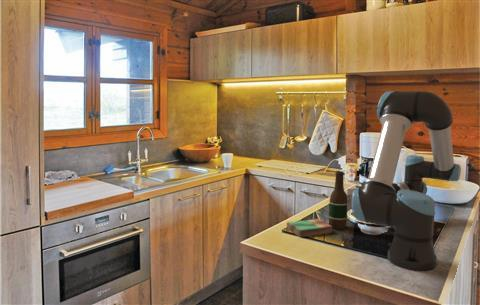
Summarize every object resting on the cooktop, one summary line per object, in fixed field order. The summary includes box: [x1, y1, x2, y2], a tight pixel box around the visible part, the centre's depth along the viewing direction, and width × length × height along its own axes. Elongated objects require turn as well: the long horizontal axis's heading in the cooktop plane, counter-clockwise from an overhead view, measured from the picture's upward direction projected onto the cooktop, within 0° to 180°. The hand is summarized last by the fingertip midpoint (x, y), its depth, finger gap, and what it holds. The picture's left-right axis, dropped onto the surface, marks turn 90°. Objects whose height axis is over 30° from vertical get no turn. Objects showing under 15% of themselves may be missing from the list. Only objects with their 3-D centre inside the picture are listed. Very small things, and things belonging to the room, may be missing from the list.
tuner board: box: [286, 218, 333, 238], centre depth 162 cm, size 11×15×3 cm
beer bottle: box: [328, 170, 348, 231], centre depth 165 cm, size 8×8×24 cm
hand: (356, 195), depth 168 cm, fingers open, 13 cm apart
